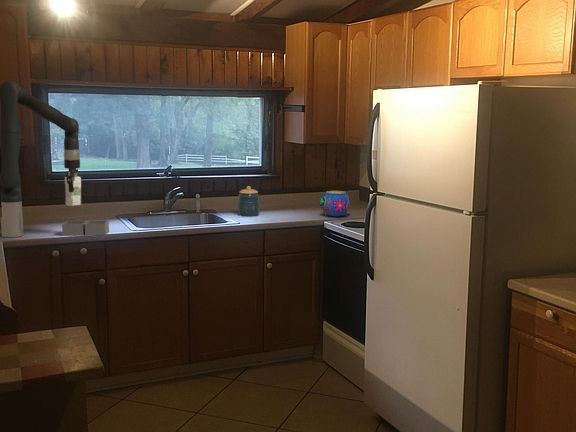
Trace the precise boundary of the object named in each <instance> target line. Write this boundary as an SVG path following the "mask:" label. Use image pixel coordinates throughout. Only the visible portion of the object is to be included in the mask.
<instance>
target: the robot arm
mask: <svg viewBox="0 0 576 432" xmlns="http://www.w3.org/2000/svg"><path fill="white" fill-rule="evenodd" d="M18 104H19V105H21V106H23V107H25V108H27V109H29V110H31V111H32V112H34V113H35V114H36V115H38V116H39V117H41V118H43V119H44V120H46V121H48V122H50V123H51V124H54V125H55V126H57V127H58V128H60V129H61V130H63V131H64V140H63V165H64V167H63V168H65V169H68V171H66V177H67V184H68V185H69V192H74V186H73V184H74V181H75V176H78V177H79V169H80V168H81V156H80V142H79V133H80V125H79V122H78V121H77V119H76V118H72V117H70V116H69V115H66V114H64V113H63V112H62V111H60V110H59V109H57V108H56V107H53V105H51V104H48V103H46V102H45V101H42V100H41V99H38V98H37V97H35V96H33V95H32V94H31V93H28V92H27V91H26V90H25V89H23V88H22V87H21V86H20V85H19V84H18V83H16V82H14V81H11V80H10V81H9V80H7V81H4V82H2V83H1V84H0V153H1V154H0V155H1V167H0V201H1V204H0V205H1V216H2V217H0V224H1V226H0V227H1V237H4V238H18V237H22V236H24V222H23V221H24V220H23V219H24V218H23V205H22V204H23V203H22V186H21V185H22V183H21V175H20V169H19V156H20V147H21V126H20V120H19V116H18V115H19V114H18ZM70 180H71V181H70Z"/></svg>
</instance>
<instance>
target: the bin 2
mask: <svg viewBox="0 0 576 432" xmlns="http://www.w3.org/2000/svg"><path fill="white" fill-rule="evenodd" d="M109 232H110V221H109V220H108V219H107V220H87V222H86V223H85V234H84V236H86V237H88V236H93V237H94V236H98V237H99V236H107V235H108V234H109Z"/></svg>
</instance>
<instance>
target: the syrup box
mask: <svg viewBox="0 0 576 432" xmlns="http://www.w3.org/2000/svg"><path fill="white" fill-rule="evenodd" d="M70 181H71V180H70ZM73 186H74V192H69V185H68V184H67V176H64V202H65V204H64V205H66V206H68V207H77V206H82V177H81V176H79V175H78V176H75V181H74V184H73Z"/></svg>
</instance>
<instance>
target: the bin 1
mask: <svg viewBox="0 0 576 432" xmlns="http://www.w3.org/2000/svg"><path fill="white" fill-rule="evenodd" d="M86 222H88V220H66V221H64V222H63V223H62V224H61V231H62V236H63V237H65V236H66V237H68V236H69V237H70V236H71V237H73V236H75V237H78V236H85V223H86Z"/></svg>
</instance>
